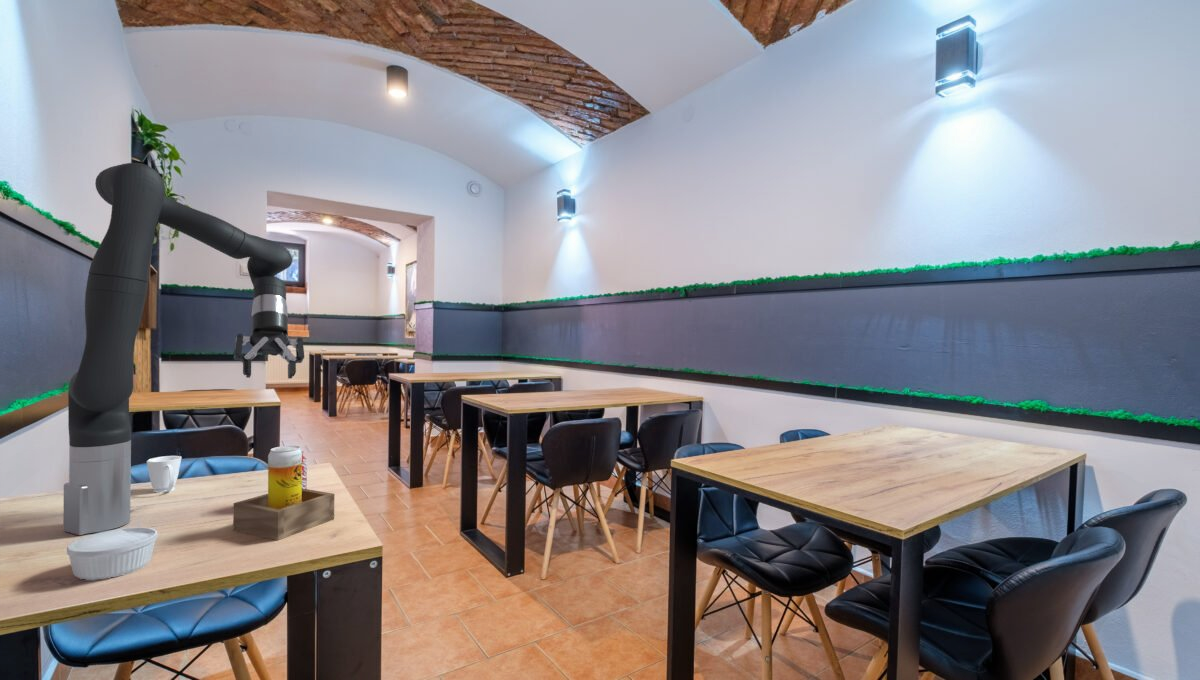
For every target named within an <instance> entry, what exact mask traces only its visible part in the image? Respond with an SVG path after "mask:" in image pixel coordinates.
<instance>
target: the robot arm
mask: <svg viewBox="0 0 1200 680" xmlns="http://www.w3.org/2000/svg"><path fill="white" fill-rule="evenodd" d="M95 190H96V192H97V193H98V195H99V196H100V198H101V199H103V201H104V202H106V203H107V204H109V205H110V206H111V215H110V221H109V225H108V228H107V231H106V233H105V235H104V236H103V239H102V241H101V242H100V244H99V246H98V248H97V250H96V251H95V253H94V256H93V257H92V259H91V263H90V266H89V269H88V275H87V280H86V281H87V282H86V287H85V292H84V293H85V294H84V295H85V297H84V319H85V335H86V336H85V343H84V349H83V353H82V357H81V360H80V364H79V367H78V371H77V372H75V373H74V375H72V377H70V381H69V383H68V384H69V385H68V393H67V394H68V395H67V396H68V397H67V399H68V400H67V402H68V405H67V406H68V412H67V413H68V418H67V419H68V420H67V421H68V426H67V427H68V440H69V441H68V442H69V443H68V445H69V446H68V449H69V453H68V454H69V460H68V461H69V462H68V472H69V473H68V482H66V483H64V484H63V527H62V528H63V530H64V531H63V530H62V531H63V532H67V533H69V532H70V534H73V535H77V536H83V535H86V534H92V533H93V534H95V533H100V532H105V531H110V530H115V529H118V528H120V527H123V526H125V525H127V524H129V523H130V522H131V512H132V511H131V487H132V483H131V482H132V480H131V479H132V477H131V476H132V467H131V466H132V465H131V464H132V462H131V461H132V456H131V455H132V449H131V448H132V425H131V421H130V399H131V397H132V395H133V391H134V360H135V359H134V353H135V344H136V339H137V335H138V333H139V330H140V329H139V328H140V325H141V322H142V321H141V320H142V317H143V312H144V308H145V303H146V300H147V293H148V292H147V291H148V288H149V287H148V286H149V279H150V278H149V276H150V269H151V262H152V256H153V255H152V253H153V247H154V237H155V233H156V228H157V225H158V223H159V224H161V225H163V226H166V227H169V228H171V229H173V230H175V231H177V232H180V233H182V234H184V235H186V236H188V237H190V238H193V239H194V240H196V241H199V242H201V243H203V244H205V245H207V246H209V247H211V248H212V249H214V250H217V251H218V252H220V253H222V254H224V255H226V256H228V257H229V258H233V259H235V260H242V259H247V258H248V260H247V263H246V264H247V265H246V269H247V273H248V275H249V278H250V282H251V284H252V286H253V299H252V301H253V302H252V305H251V306H252V308H251V313H250V314H251V315H250V316H251V334H250V336H249V335H248V336H246V335H244V334H243V333H238V334H236V337H235V342H234V353H233V360H234V361H237V362H238V361H240V362H241V363H242V374H243V376H245V377H246V379H247V378H251V375H252V360H253V359H255V357H257V355H259V354H260V355H261V356H275V357H276V356H278V355H279V356H280V357H281V358H282V359H283V360H285V361H286V362H287V363H288V364H287V379H290V380H291V379H292V378H293V377H294V376H295V375H296V372H297V368H296V367H297V364H302V362H303V361H304V359H305V349H304V340H303V338H302V337H300V336H299V337H297V338H295V339H294V338H290V337H289V328H288V327H289V326H288V325H289V323H288V317H289V316H288V305H287V286H286V283H285V281H284V280H283V279H281V278H279V277H277V275H278V274H280V273H281V272H283V271H286V270H287V269H289V268H290V266H292V263H293V256H292V254H291V253H290V251H289V250H288V249H287V247H285V246H283V245H282V244H280V243H278V242H276V241H274V240H270V239H267V238H264V237H260V236H257V235H254V234H250V233H247V232H246V231H244V230H242V229H240V228H238V227H237V226H235V225H233V224H231V223H229V222H227V221H225V220H223V219H221V218H219V217H217V216H215V215H213V214H210V213H206V212H205V211H204V212H203V211H202V210H198V209H195V208H193V207H191V206H187V205H185V204H183V203H181V202H179V201H178V200H175V199H173V198H171V197H169V196H168V195H166V185H165V183H164V180H163V177H161V175H160V174H159V173H158V172H157V170H155V169H154V168H153V167H151V166H149V165H148V164H145V163H142V162H141V163H140V162H128V163H127V162H126V163H121V164H117V165H113V166H110V167H108V168H105V169H103V170H101V171H100V172H99V173H98V174H97V176H96V178H95ZM248 342H249V344H250V345H251V346H252V348H251V349H250V350H249V351H248V352H247V353H245V354H244V353H242V350H243V346H246V344H247V343H248ZM289 345H291V346H292V348H294V349H295V355H296V356H295V355H294V354H293V353H292V351H291V349H290V348H289Z"/></svg>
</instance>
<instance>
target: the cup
mask: <svg viewBox="0 0 1200 680" xmlns="http://www.w3.org/2000/svg"><path fill="white" fill-rule="evenodd" d="M181 463H182V456H181V455H180V456H179V455H165V456H163V455H162V456H157V457H152V458H149V459H148V460H146V466H147V471H148V476H149V481H150V484H151V487H152V488H153V491H152V492H153V493H154V492H156V493H155V494H159V493H160V492H163V493H167V494H168V493H170V492H172V491H174V490H176V487H175V485H176V484H177V481H178V477H179V472H180V467H181Z"/></svg>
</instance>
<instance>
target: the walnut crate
mask: <svg viewBox="0 0 1200 680" xmlns="http://www.w3.org/2000/svg"><path fill="white" fill-rule="evenodd" d="M232 515H233V519H232V520H233V521H232V523H233V527H232V530H233V531H235V532H241V533H245V534H250V535H254V536H258V537H262V538H266V539H271V540H275V541H279V540H283V539H285V538H287V537H290V536H292V535H296V534H298V533H301V532H303V531H306V530H308V529H312V528H314V527H316V526H317V527H318V526H320V525H322V524H324V523H328V522H331V521H333V520H334V519H335V493H332V492H326V491H325V492H324V491H320V490H314V489H303V488H302V502H301V503H298V504H295V505H292V506H288V507H285V508H282V509H275V508H270V507H268V493H265V494H261V495H257V496H254V497H251V498H247V499H244V500H240V501H237V502H234V503H233V514H232Z"/></svg>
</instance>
